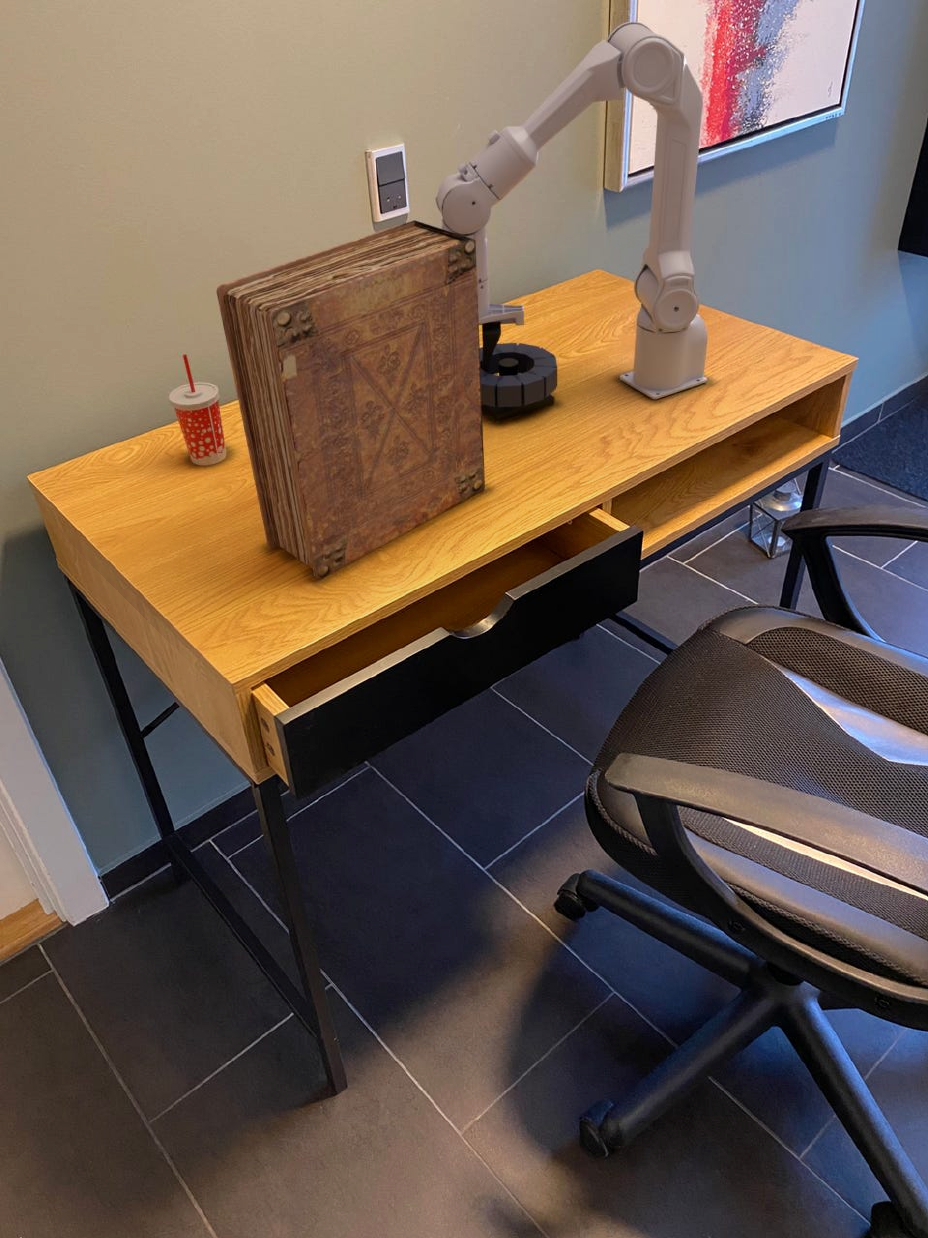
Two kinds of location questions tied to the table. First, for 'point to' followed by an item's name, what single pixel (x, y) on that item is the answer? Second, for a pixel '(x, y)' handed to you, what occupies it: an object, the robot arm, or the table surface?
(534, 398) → the hoop
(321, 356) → the book
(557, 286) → the table surface
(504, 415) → the peg stand
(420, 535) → the table surface
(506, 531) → the table surface
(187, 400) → the beverage cup
